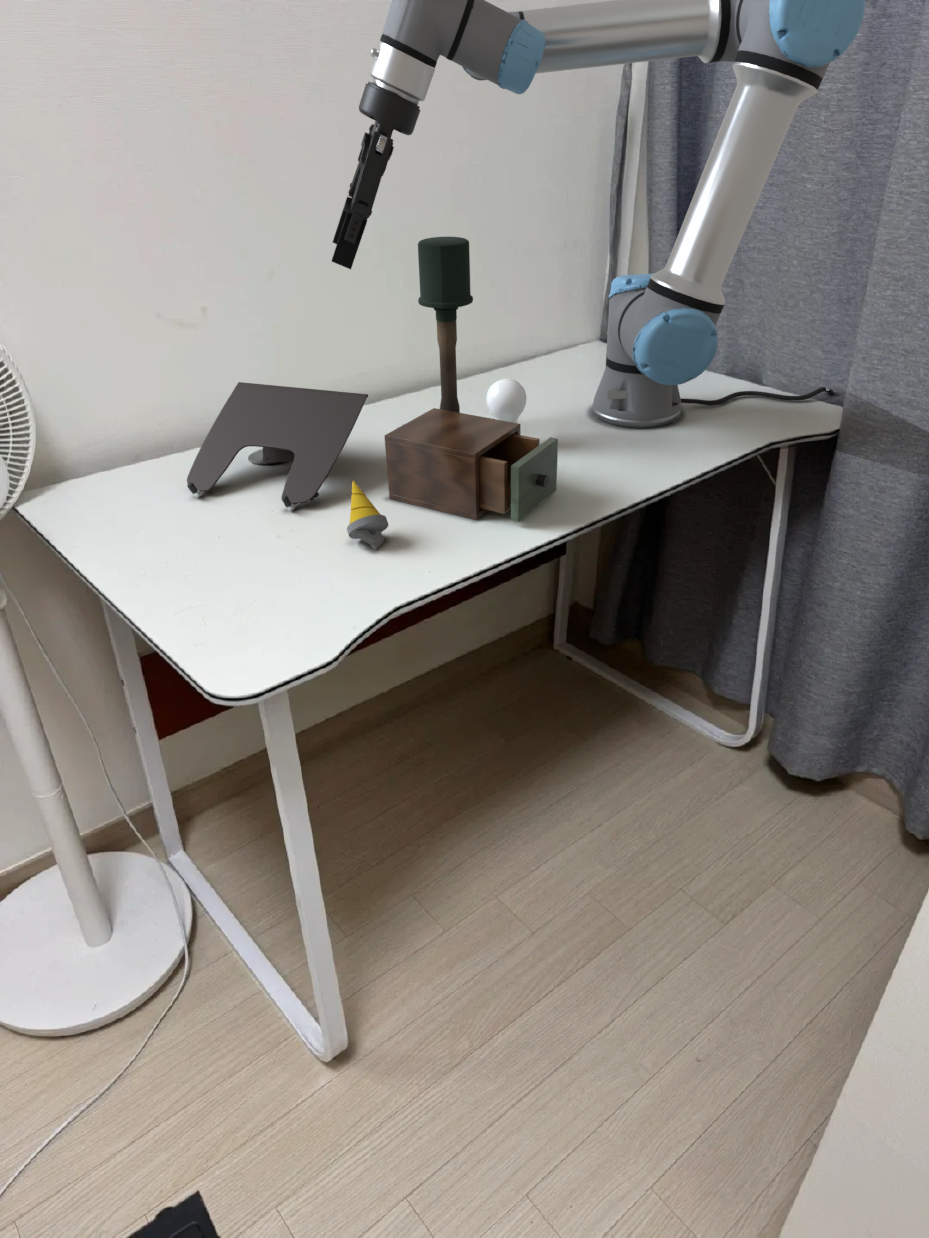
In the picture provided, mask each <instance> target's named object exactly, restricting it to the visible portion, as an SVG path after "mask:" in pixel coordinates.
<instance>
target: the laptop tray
mask: <svg viewBox="0 0 929 1238" xmlns="http://www.w3.org/2000/svg"><path fill="white" fill-rule="evenodd" d="M368 397H369V394H367V393H358V392H347V391H337V390H327V389H318V388H317V389H316V388H306V387H296V386H284V385H275V384H262V383H252V382H244V381H243V382H242V381H239V382H237V384H236V386H235V387H234V389H233V390H232V392H231V394H229V396H228V398H227V400H226V402H225V403H224V404H223V407H222V408H221V409H220V412H219V414H218V415H217V417H216V419H215V420H214V422H213V424H212V426H211V428H210V430H209V431H208V433H207V434H206V437H205V439H204V440H203V442H202V444H201V446H200V448H199V450H198V452H197V455H196V457H195V459H194V460H193V463H192V464H191V468H190V470H189V472H188V475H187V477H186V483H187V486H186V487H187V488H188V490H189V491H190V493H191V494H192V495H193V496H194V497H196V498H199V497H201V496H202V495H203V494H204V492H209V491H210V490H212V489H213V488H214V486H215V485H216V484H217V483H218V481H219V480H220V479H221V478H222V476H223V475H224V474H225V472H226V471H227V470H228V468H229V467H230V465H231V464H232V462H233V461H234V460H235V458H236V456H237V455H238V454H239V452H241V450H243V449H245V448H248V447H258V448H262V459H263V462H264V463H266V464H272V465H273V464H279V463H291V466H290V468H289V471H288V474H287V477H286V480H285V484H284V487H283V491H282V493H281V498H280V499H281V502H282V503H283V504H284V506H285V508H286V509H287V510H288V511H294V509H296V507H297V505H299V504H305V503H308V502H309V501H310V502H313V501H314V500H315V499H316V498H319V497H320V493H319V490H320V488H321V487H322V486H323V484H324V483H325V481H326V480H327V478H328V476H329V474H330V472H331V471H332V469H333V468H334V465H335V464H336V462H337V461H338V458H339V457H340V454H341V453H342V451H343V449H344V447H345V445H346V443H347V441H348V439H349V437H350V435H351V433H352V431H353V429H354V427H355V425H356V424H357V421H358V418H359V416H360V414H361V412H362V409H363V408H364V405H365V403H366V401H367V399H368Z"/></svg>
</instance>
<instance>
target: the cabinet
mask: <svg viewBox="0 0 929 1238" xmlns="http://www.w3.org/2000/svg"><path fill="white" fill-rule="evenodd" d="M512 434H518V435H521V423H519V422H517V423H513V422H508V421H502V420H497V419H494V418H491V417H485V416H479V415H475V414H469V413H463V412H460V413H458V412H453V411H447V410H442V409H440V408H435V407H432V408H431V409H429V410H427V411H426V412H424V413H422V414H421V415H418V416H417V417H415V418H413V419H412V420H410V421H408V422H406V423H405V424H402V425H401V426H399V427H397V428H395V429H393V430H392V431H390V432H388V433H386V434H385V435H384V446H385V461H386V471H387V472H386V473H387V483H388V495H389V496H388V497H389V500H393V501H397V502H402V503H405V504H409V505H413V506H417V507H421V508H426V509H430V510H434V511H438V512H442V513H445V514H450V515H453V516H458V517H462V518H466V519H471V520H475V521H477V520H478V519H480V518H481V517H482V516H484V515H485V514H486V513H488V512H489V511H490V510H486V509H481V508H479V481H478V457H479V456H481V455H482V454H484V453H485V452H487V451H488V450H490V449H491V448H493V447H494V446H496V445H497V444H499V443H500V442H502V441H503V440H505V439H506V438H508V437H509V436H511V435H512Z"/></svg>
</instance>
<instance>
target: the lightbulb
mask: <svg viewBox="0 0 929 1238" xmlns="http://www.w3.org/2000/svg"><path fill="white" fill-rule="evenodd" d="M485 396H486V397H485V402H486V403H485V404H486V407H487V409H488V411H489V413H490V415H492V417H493V419H497V420H502V421H508V422H513V423H518V420H519V418H520V417H521V415H522V414H523V412H524V410H525V408H526V405H527V393H526V389H525V388H524V387H523V385H522V384H521V383H520V382H519V381H518V380H516V379H512V378H505V377H504V378H500V379H498V380H496V381H495V382H493V383H492V384H491V385H490V386H489V388H488V390H487V392H486V394H485Z"/></svg>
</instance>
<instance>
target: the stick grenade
mask: <svg viewBox="0 0 929 1238" xmlns="http://www.w3.org/2000/svg"><path fill="white" fill-rule="evenodd" d="M470 254H471V253H470V241H469V239H468V238H465V237H461V236H434V237H433V236H432V237H427V238H424V239H423V238H422V239H421V240H419V241H418V243H417V258H418V259H417V260H418V275H419V276H418V277H419V279H418V280H419V297H418V299H417V303H418V305H420V306H421V307H425V308H431V309H433V310H434V311H435V320H436V336H437V337H436V339H437V345H438V349H439V350H438V351H439V352H438V353H439V372H440V373H439V375H440V396H441V397H440V403H439V409H442V410H447V411H453V412H458V413H461V411H460V410H461V409H460V402H459V399H458V378H457V377H458V376H457V373H458V372H457V344H458V343H457V341H458V330H457V327H458V326H457V319H458V315H457V314H458V313H457V311H458V309H459V308H461V307H465V306H468V305H471V304H472V303H473V302H474V296H473V295H472V293H471V258H470V257H471V255H470Z"/></svg>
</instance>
